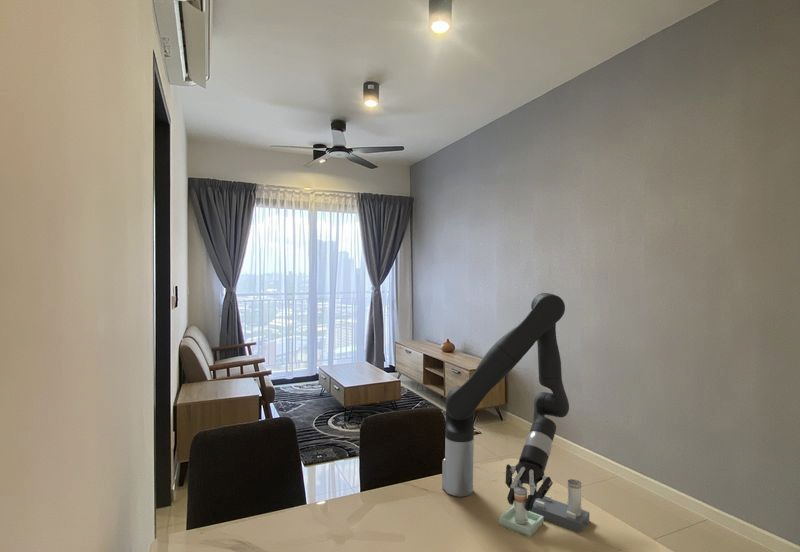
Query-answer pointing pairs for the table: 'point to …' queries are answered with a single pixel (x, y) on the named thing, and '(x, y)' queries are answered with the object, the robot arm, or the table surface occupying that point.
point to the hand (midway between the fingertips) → (518, 506)
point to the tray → (527, 530)
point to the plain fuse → (574, 497)
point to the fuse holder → (560, 513)
